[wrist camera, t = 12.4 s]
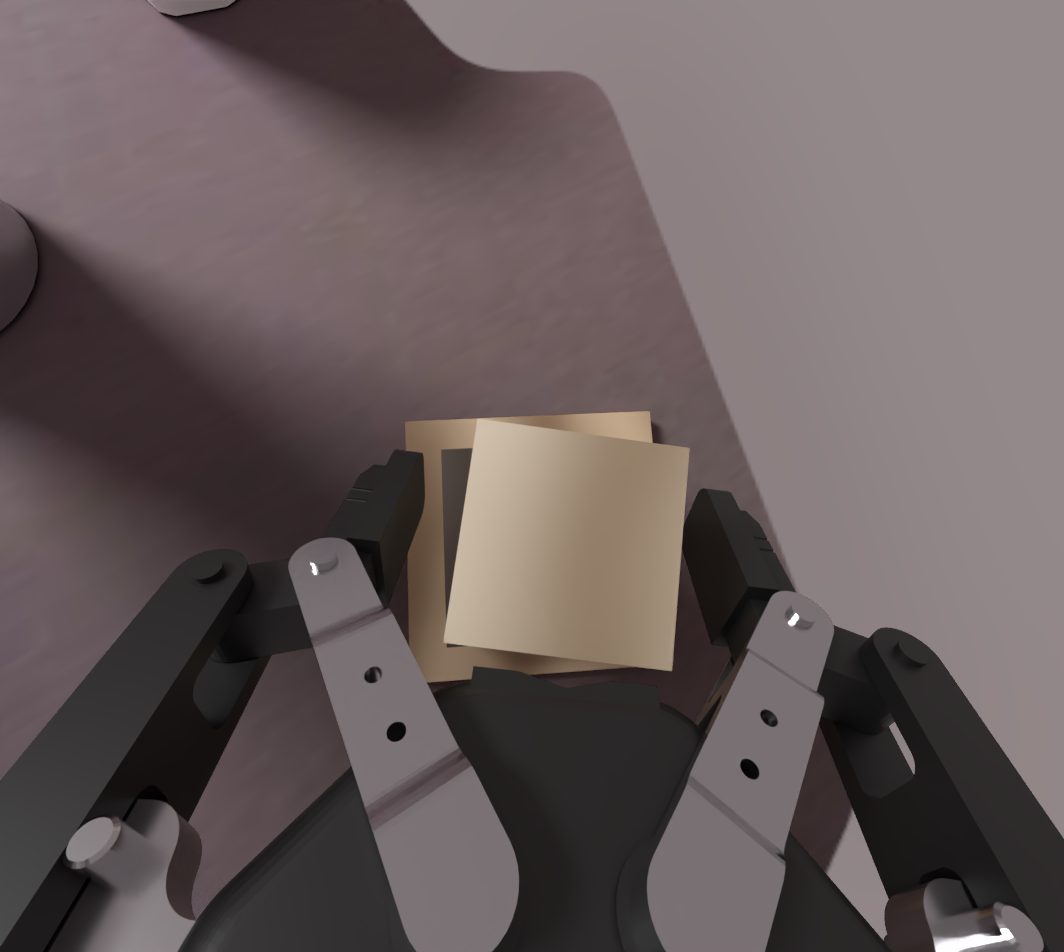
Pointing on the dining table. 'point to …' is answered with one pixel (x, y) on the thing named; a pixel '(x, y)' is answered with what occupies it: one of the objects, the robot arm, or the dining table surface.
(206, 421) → the dining table surface
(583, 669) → the board
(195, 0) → the cup
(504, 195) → the dining table surface
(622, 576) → the leg peg
